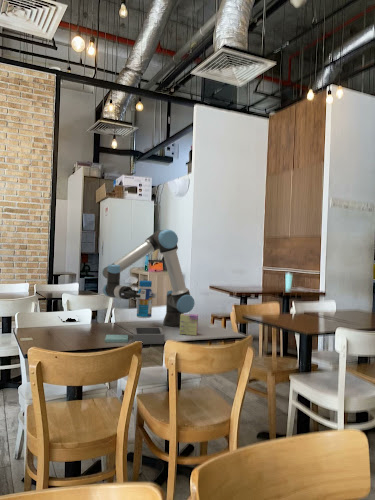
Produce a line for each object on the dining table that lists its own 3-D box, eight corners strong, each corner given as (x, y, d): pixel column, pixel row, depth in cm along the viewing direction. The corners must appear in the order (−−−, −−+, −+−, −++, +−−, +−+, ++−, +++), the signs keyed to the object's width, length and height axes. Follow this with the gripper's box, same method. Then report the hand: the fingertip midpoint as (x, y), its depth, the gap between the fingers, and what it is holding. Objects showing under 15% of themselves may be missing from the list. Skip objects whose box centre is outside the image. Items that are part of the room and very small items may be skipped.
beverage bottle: (133, 316, 222) (135, 280, 222) (146, 315, 227) (148, 280, 228) (141, 318, 216) (143, 281, 216) (154, 317, 221) (156, 281, 221)
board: (127, 337, 226) (128, 334, 226) (127, 342, 215) (128, 339, 215) (106, 337, 225) (106, 334, 225) (105, 342, 213) (105, 339, 213)
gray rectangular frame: (160, 335, 233) (161, 327, 233) (164, 343, 213) (164, 334, 213) (133, 335, 231) (133, 327, 231) (133, 344, 211) (134, 334, 211)
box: (197, 333, 243) (198, 314, 243) (196, 335, 237) (197, 315, 237) (180, 332, 244) (181, 313, 244) (179, 334, 238) (180, 314, 238)
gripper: (136, 297, 241) (163, 301, 226) (109, 300, 226) (136, 304, 211) (137, 285, 241) (164, 288, 226) (109, 286, 226) (136, 290, 211)
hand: (150, 296), depth 218 cm, fingers closed on beverage bottle, 8 cm apart
